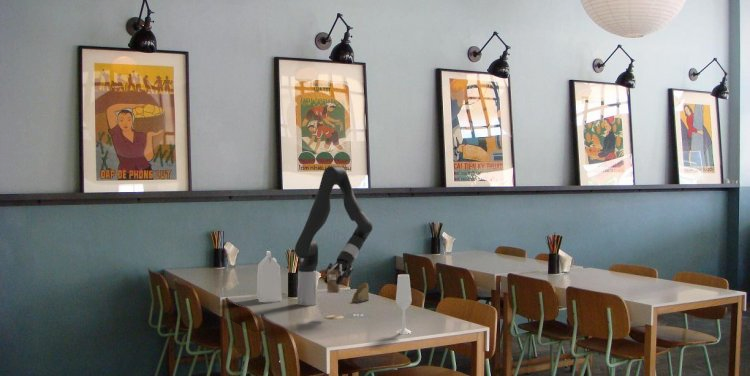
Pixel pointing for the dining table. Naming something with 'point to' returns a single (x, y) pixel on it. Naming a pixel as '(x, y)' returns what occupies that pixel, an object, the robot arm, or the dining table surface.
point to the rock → (361, 293)
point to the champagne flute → (403, 298)
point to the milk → (269, 280)
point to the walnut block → (332, 281)
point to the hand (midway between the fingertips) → (331, 282)
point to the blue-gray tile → (358, 315)
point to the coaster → (333, 317)
